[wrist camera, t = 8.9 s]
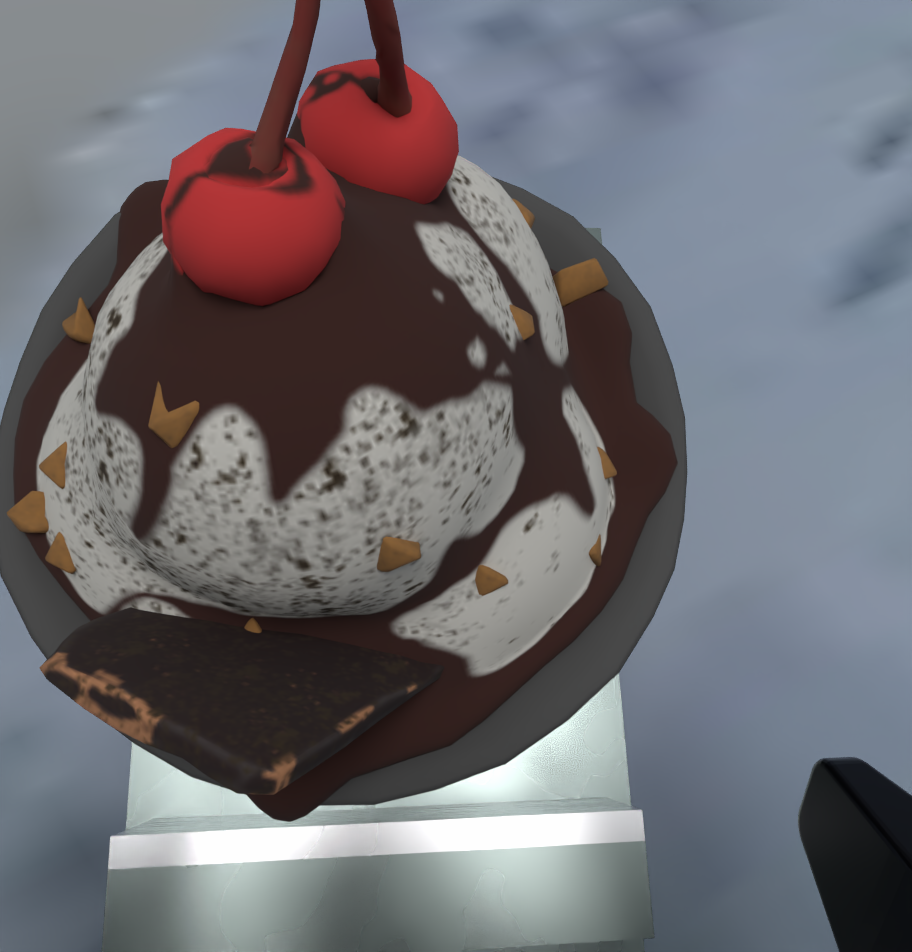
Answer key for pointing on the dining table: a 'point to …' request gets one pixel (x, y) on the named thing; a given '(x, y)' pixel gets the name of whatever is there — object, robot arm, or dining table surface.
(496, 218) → the sundae
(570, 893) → the vise
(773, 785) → the dining table surface
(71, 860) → the dining table surface
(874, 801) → the robot arm
